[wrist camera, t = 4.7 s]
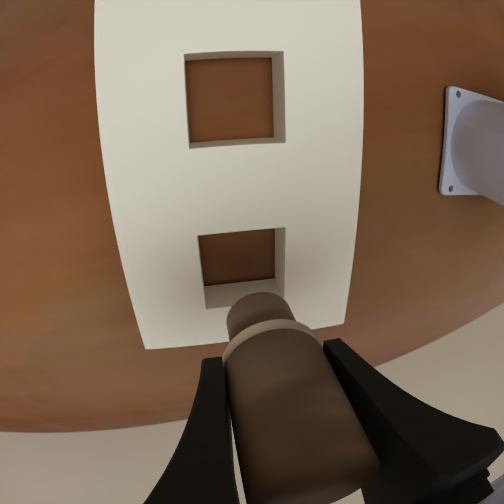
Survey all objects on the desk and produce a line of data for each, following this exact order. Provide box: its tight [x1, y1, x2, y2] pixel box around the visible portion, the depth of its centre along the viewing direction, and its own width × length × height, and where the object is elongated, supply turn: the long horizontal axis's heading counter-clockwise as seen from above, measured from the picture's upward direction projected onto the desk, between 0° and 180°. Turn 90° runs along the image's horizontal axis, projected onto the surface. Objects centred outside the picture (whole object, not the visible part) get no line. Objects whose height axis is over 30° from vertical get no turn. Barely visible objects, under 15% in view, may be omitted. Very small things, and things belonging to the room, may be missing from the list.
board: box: [94, 0, 364, 349], centre depth 17 cm, size 13×20×2 cm, turn 2°
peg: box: [222, 292, 380, 504], centre depth 10 cm, size 4×4×8 cm
